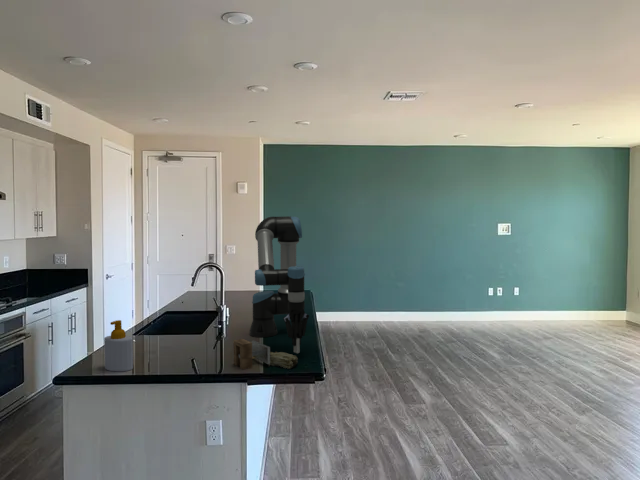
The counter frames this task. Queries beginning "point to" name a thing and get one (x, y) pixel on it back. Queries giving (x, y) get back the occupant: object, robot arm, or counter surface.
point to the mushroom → (283, 360)
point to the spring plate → (260, 352)
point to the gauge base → (243, 353)
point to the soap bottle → (118, 349)
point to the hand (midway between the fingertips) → (296, 352)
